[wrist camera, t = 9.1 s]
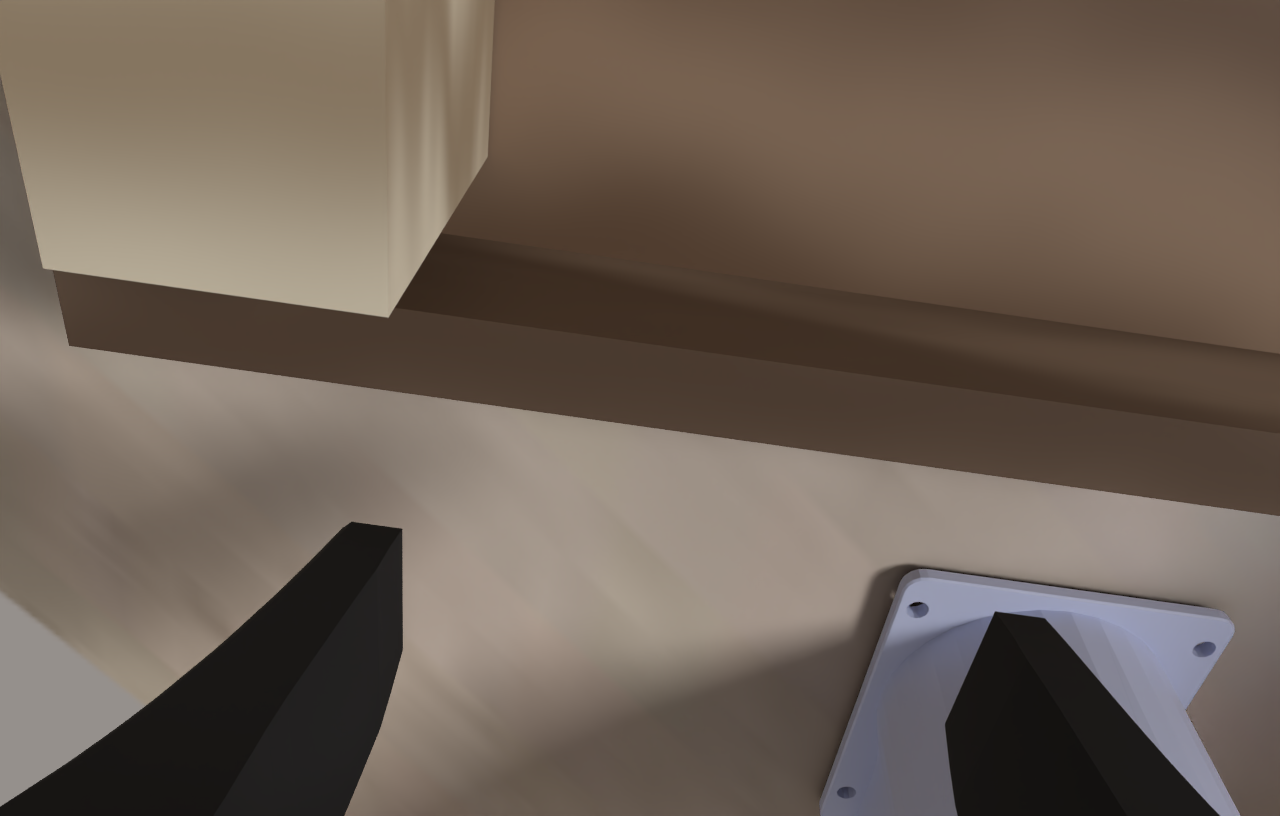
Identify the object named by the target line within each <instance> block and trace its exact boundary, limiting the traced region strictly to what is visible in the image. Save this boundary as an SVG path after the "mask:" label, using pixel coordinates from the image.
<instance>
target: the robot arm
mask: <svg viewBox="0 0 1280 816" xmlns="http://www.w3.org/2000/svg"><path fill="white" fill-rule="evenodd" d="M914 602H923V604H921V605H919V606H909V605H910V604H912V603H914ZM1234 632H1235V628H1234V624H1233V623H1232V621H1231V620H1230V618H1229V616H1228V615H1227V614H1226V613H1225V612H1224V611H1221V610H1217V609H1212V608H1205V607H1197V606H1190V605H1183V604H1176V603H1169V602H1161V601H1154V600H1147V599H1140V598H1132V597H1125V596H1118V595H1111V594H1104V593H1096V592H1089V591H1082V590H1075V589H1068V588H1060V587H1053V586H1046V585H1039V584H1031V583H1024V582H1017V581H1010V580H1003V579H995V578H988V577H981V576H974V575H967V574H959V573H952V572H945V571H938V570H930V569H917V570H914V571H910V572H909V573H907V574H906V575H905V576H904V577H903V578H902V580H901V581H900V584H899V586H898V589H897V592H896V594H895V597H894V600H893V603H892V605H891V608H890V611H889V613H888V616H887V619H886V622H885V624H884V627H883V630H882V633H881V635H880V638H879V641H878V643H877V646H876V649H875V652H874V654H873V657H872V660H871V662H870V665H869V668H868V671H867V673H866V676H865V679H864V682H863V684H862V687H861V690H860V692H859V695H858V698H857V701H856V703H855V706H854V709H853V712H852V714H851V717H850V720H849V722H848V725H847V728H846V731H845V733H844V736H843V739H842V741H841V744H840V747H839V750H838V752H837V755H836V758H835V761H834V763H833V766H832V769H831V771H830V774H829V777H828V780H827V782H826V785H825V788H824V791H823V793H822V796H821V799H820V801H819V808H820V815H821V816H1240V814H1239V812H1238V810H1237V808H1236V806H1235V804H1234V802H1233V800H1232V799H1231V797H1230V795H1229V793H1228V791H1227V789H1226V787H1225V785H1224V783H1223V781H1222V780H1221V778H1220V776H1219V774H1218V772H1217V770H1216V768H1215V766H1214V764H1213V762H1212V761H1211V759H1210V757H1209V755H1208V753H1207V751H1206V749H1205V747H1204V745H1203V743H1202V742H1201V740H1200V738H1199V736H1198V734H1197V732H1196V730H1195V728H1194V726H1193V724H1192V722H1191V721H1190V719H1189V717H1188V715H1187V713H1186V711H1185V710H1186V709H1187V707H1188V705H1189V704H1190V702H1191V701H1192V699H1193V698H1194V696H1195V694H1196V693H1197V691H1198V690H1199V688H1200V687H1201V685H1202V684H1203V682H1204V680H1205V679H1206V677H1207V676H1208V674H1209V673H1210V671H1211V670H1212V668H1213V666H1214V665H1215V663H1216V662H1217V660H1218V659H1219V657H1220V656H1221V654H1222V652H1223V651H1224V649H1225V648H1226V646H1227V645H1228V643H1229V641H1230V640H1231V638H1232V637H1233V635H1234ZM1201 642H1204V643H1202V644H1199V643H1201ZM1197 644H1199V645H1197ZM402 651H403V609H402V529H399V528H392V527H385V526H378V525H371V524H363V523H356V522H351V523H349V524H348V525H346V526H345V527H343V528H342V529H341V530H340V531H339V532H338V533H337V534H336V535H335V536H334V537H333V538H332V539H331V540H330V541H329V542H328V543H327V544H326V545H325V546H324V548H323V549H322V550H321V551H320V552H319V553H318V554H317V555H316V556H315V557H314V558H313V559H312V560H311V561H310V562H309V563H308V564H307V565H306V566H305V567H304V568H303V569H302V570H301V571H300V572H299V573H298V574H296V575H295V576H294V577H293V578H292V579H291V580H290V581H289V582H288V583H287V584H286V585H285V586H284V587H283V588H282V589H281V590H280V591H279V592H278V593H277V594H276V595H275V596H274V597H273V598H272V599H270V600H269V601H268V602H267V603H266V604H265V605H264V606H263V607H262V608H261V609H259V610H258V611H257V612H256V613H255V614H254V615H253V616H252V617H251V618H250V619H248V620H247V621H246V622H245V623H244V624H243V625H242V626H241V627H240V628H239V629H238V630H236V631H235V632H234V633H233V634H232V635H231V636H230V637H229V638H228V639H226V640H225V641H224V642H223V643H222V644H221V645H220V646H218V647H217V648H216V649H215V650H214V651H213V652H211V653H210V654H209V655H208V656H207V657H205V658H204V659H203V660H202V661H201V662H199V663H198V664H197V665H196V666H194V667H193V668H192V669H191V670H190V671H188V672H187V673H186V674H185V675H184V676H182V677H181V678H180V679H179V680H177V681H176V682H175V683H174V684H173V685H171V686H170V687H169V688H168V689H167V690H165V691H164V692H163V693H162V694H160V695H159V696H158V697H157V698H155V699H154V700H153V701H152V702H150V703H149V704H148V705H146V706H145V707H144V708H142V709H141V710H140V711H139V712H137V713H136V714H135V715H133V716H132V717H131V718H129V719H128V720H127V721H125V722H124V723H123V724H121V725H120V726H119V727H117V728H116V729H115V730H113V731H112V732H110V733H109V734H108V735H106V736H105V737H103V738H102V739H101V740H99V741H98V742H96V743H95V744H94V745H92V746H91V747H89V748H88V749H86V750H85V751H84V752H82V753H81V754H79V755H78V756H77V757H75V758H74V759H72V760H71V761H69V762H68V763H67V764H65V765H63V766H62V767H61V768H59V769H57V770H56V771H55V772H53V773H51V774H50V775H48V776H47V777H45V778H44V779H42V780H40V781H39V782H37V783H36V784H34V785H33V786H31V787H30V788H28V789H27V790H25V791H24V792H22V793H21V794H19V795H18V796H16V797H14V798H13V799H11V800H10V801H8V802H7V803H5V804H4V805H2V806H1V807H0V816H344V815H345V812H346V810H347V808H348V805H349V803H350V800H351V798H352V796H353V793H354V791H355V788H356V786H357V784H358V781H359V779H360V776H361V774H362V772H363V769H364V767H365V764H366V762H367V759H368V757H369V755H370V752H371V750H372V747H373V745H374V742H375V740H376V737H377V735H378V732H379V730H380V727H381V724H382V721H383V717H384V714H385V710H386V707H387V704H388V700H389V697H390V694H391V690H392V686H393V683H394V679H395V676H396V672H397V669H398V665H399V661H400V658H401V654H402Z"/></svg>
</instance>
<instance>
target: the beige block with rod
mask: <svg viewBox="0 0 1280 816" xmlns="http://www.w3.org/2000/svg"><path fill="white" fill-rule="evenodd" d="M494 6H495V0H0V76H1V80H2V85H3V89H4V94H5V98H6V103H7V107H8V112H9V117H10V121H11V126H12V130H13V135H14V139H15V144H16V148H17V153H18V157H19V162H20V166H21V171H22V175H23V180H24V185H25V189H26V194H27V198H28V203H29V207H30V212H31V216H32V221H33V225H34V230H35V234H36V239H37V243H38V248H39V253H40V257H41V262H42V266H43V269H50V270H57V271H64V272H71V273H78V274H85V275H92V276H99V277H106V278H113V279H120V280H127V281H134V282H141V283H149V284H156V285H163V286H170V287H177V288H184V289H191V290H198V291H205V292H212V293H219V294H226V295H233V296H240V297H247V298H254V299H261V300H268V301H275V302H282V303H289V304H296V305H303V306H310V307H317V308H324V309H331V310H338V311H345V312H353V313H360V314H367V315H374V316H381V317H388V318H389V316H390V314H391V313H392V311H393V309H394V308H395V306H396V305H397V303H398V301H399V300H400V298H401V296H402V295H403V293H404V292H405V290H406V288H407V287H408V285H409V283H410V282H411V280H412V279H413V277H414V275H415V274H416V272H417V271H418V269H419V267H420V266H421V264H422V262H423V261H424V259H425V258H426V256H427V254H428V253H429V251H430V249H431V248H432V246H433V245H434V243H435V241H436V240H437V238H438V237H439V235H440V233H441V232H442V230H443V228H444V227H445V225H446V224H447V222H448V220H449V219H450V217H451V215H452V214H453V212H454V211H455V209H456V207H457V206H458V204H459V202H460V201H461V199H462V198H463V196H464V194H465V193H466V191H467V190H468V188H469V186H470V185H471V183H472V181H473V180H474V178H475V177H476V175H477V173H478V172H479V170H480V168H481V167H482V165H483V164H484V162H485V160H486V159H487V157H488V139H489V117H490V95H491V73H492V51H493V28H494Z"/></svg>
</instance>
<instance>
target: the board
mask: <svg viewBox="0 0 1280 816" xmlns="http://www.w3.org/2000/svg"><path fill="white" fill-rule="evenodd" d="M53 273H54V277H55V282H56V287H57V291H58V296H59V300H60V305H61V310H62V314H63V319H64V324H65V328H66V333H67V338H68V342H69V346H75V347H82V348H89V349H97V350H104V351H111V352H118V353H125V354H132V355H139V356H146V357H153V358H161V359H168V360H175V361H182V362H189V363H196V364H203V365H210V366H217V367H225V368H232V369H239V370H246V371H253V372H260V373H267V374H274V375H281V376H289V377H296V378H303V379H310V380H317V381H324V382H331V383H338V384H345V385H353V386H360V387H367V388H374V389H381V390H388V391H395V392H402V393H409V394H417V395H424V396H431V397H438V398H445V399H452V400H459V401H466V402H473V403H480V404H488V405H495V406H502V407H509V408H516V409H523V410H530V411H537V412H544V413H552V414H559V415H566V416H573V417H580V418H587V419H594V420H601V421H608V422H616V423H623V424H630V425H637V426H644V427H651V428H658V429H665V430H672V431H680V432H687V433H694V434H701V435H708V436H715V437H722V438H729V439H736V440H744V441H751V442H758V443H765V444H772V445H779V446H786V447H793V448H800V449H808V450H815V451H822V452H829V453H836V454H843V455H850V456H857V457H864V458H871V459H879V460H886V461H893V462H900V463H907V464H914V465H921V466H928V467H935V468H943V469H950V470H957V471H964V472H971V473H978V474H985V475H992V476H999V477H1007V478H1014V479H1021V480H1028V481H1035V482H1042V483H1049V484H1056V485H1063V486H1071V487H1078V488H1085V489H1092V490H1099V491H1106V492H1113V493H1120V494H1127V495H1135V496H1142V497H1149V498H1156V499H1163V500H1170V501H1177V502H1184V503H1191V504H1198V505H1206V506H1213V507H1220V508H1227V509H1234V510H1241V511H1248V512H1255V513H1262V514H1270V515H1277V516H1280V0H495V6H494V28H493V51H492V73H491V95H490V117H489V139H488V157H487V159H486V160H485V162H484V164H483V165H482V167H481V168H480V170H479V172H478V173H477V175H476V177H475V178H474V180H473V181H472V183H471V185H470V186H469V188H468V190H467V191H466V193H465V194H464V196H463V198H462V199H461V201H460V202H459V204H458V206H457V207H456V209H455V211H454V212H453V214H452V215H451V217H450V219H449V220H448V222H447V224H446V225H445V227H444V228H443V230H442V232H441V233H440V235H439V237H438V238H437V240H436V241H435V243H434V245H433V246H432V248H431V249H430V251H429V253H428V254H427V256H426V258H425V259H424V261H423V262H422V264H421V266H420V267H419V269H418V271H417V272H416V274H415V275H414V277H413V279H412V280H411V282H410V283H409V285H408V287H407V288H406V290H405V292H404V293H403V295H402V296H401V298H400V300H399V301H398V303H397V305H396V306H395V308H394V309H393V311H392V313H391V314H390V316H389V318H388V317H381V316H374V315H367V314H360V313H353V312H345V311H338V310H331V309H324V308H317V307H310V306H303V305H296V304H289V303H282V302H275V301H268V300H261V299H254V298H247V297H240V296H233V295H226V294H219V293H212V292H205V291H198V290H191V289H184V288H177V287H170V286H163V285H156V284H149V283H141V282H134V281H127V280H120V279H113V278H106V277H99V276H92V275H85V274H78V273H71V272H64V271H57V270H53Z"/></svg>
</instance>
